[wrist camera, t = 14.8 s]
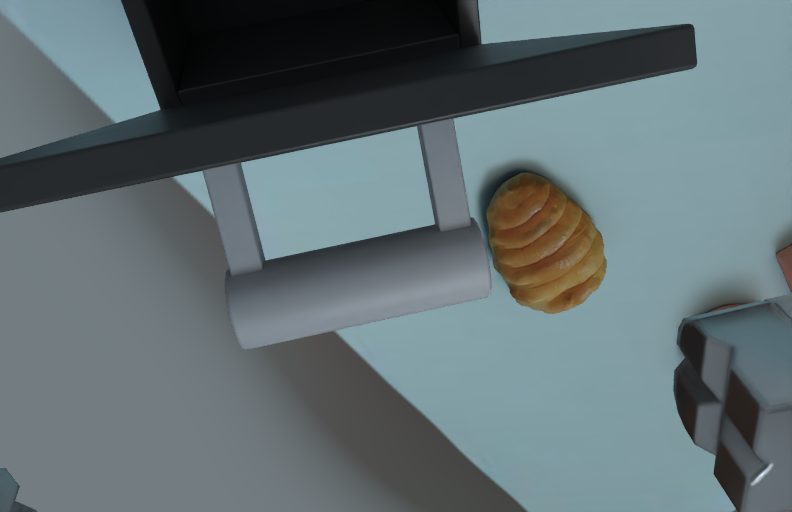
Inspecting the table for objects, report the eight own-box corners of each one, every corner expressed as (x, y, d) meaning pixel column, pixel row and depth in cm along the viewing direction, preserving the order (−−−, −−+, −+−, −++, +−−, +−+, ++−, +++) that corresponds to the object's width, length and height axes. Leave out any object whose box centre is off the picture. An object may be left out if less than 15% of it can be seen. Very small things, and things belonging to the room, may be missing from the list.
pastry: (454, 202, 45) (469, 236, 42) (552, 144, 44) (575, 175, 41) (517, 300, 50) (535, 336, 47) (607, 250, 49) (631, 285, 46)
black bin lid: (-78, 180, 13) (18, 437, 14) (695, 22, 13) (717, 283, 15) (158, 110, 31) (190, 225, 32) (483, 44, 31) (501, 160, 32)
